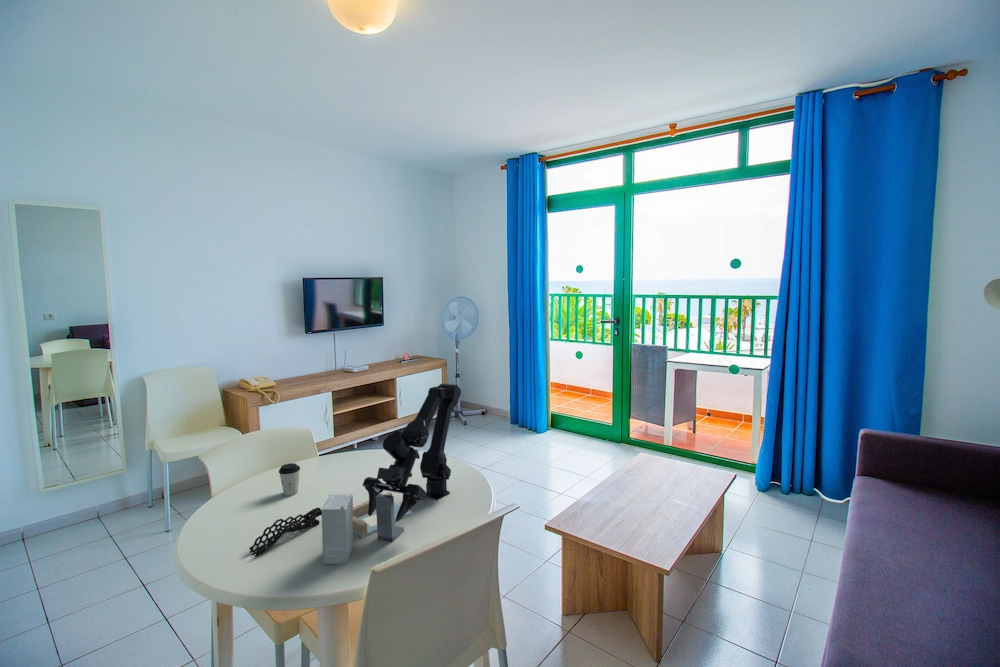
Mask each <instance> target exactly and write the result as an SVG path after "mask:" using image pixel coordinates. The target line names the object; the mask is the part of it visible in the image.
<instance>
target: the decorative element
mask: <svg viewBox="0 0 1000 667" xmlns="http://www.w3.org/2000/svg"><path fill="white" fill-rule="evenodd" d="M321 509H322V508H321V507H318V506H317V507H316V508H312V509H311V510H309V511H308V512H306V513H305V514H304V515H303V514H300V513H299V514H297V516H295V517H293V516H289V517H287V518H285V519H283V518H279V519H278V518H277V519H276V520H275V521H274V522H273V524H272V525H270V526H267V527H265V529H264V530H263V532H262V534H261V535H260V536H258V537H256V539H255V540H254V543H253V545H251V546H249V549H248V550H249V553H250V554H251V555H252V556H254V554H256V555H255V556H254V557H258V556H261V555H262V554H264V553H265V552H267V551H268V550H270V548H271V547H273V546H274V545H275V544H276V543H277V542H278V541H279V540H280V539H281V537H282V536H283V535H285V534H286V533H293V532H297V531H302V530H305V529H309V528H312V527H317V526H319V525H320V520H319V519H317V518H318V517H320V516H322V510H321ZM283 523H284V525H282V524H283ZM273 528H274V529H273ZM272 529H273V530H272ZM267 531H268V532H267ZM266 532H267V533H266ZM270 534H272V535H271V536H270V537H269V535H270ZM264 537H265V539H264ZM263 539H264V540H263ZM266 542H267V543H266ZM255 547H256V548H255ZM254 548H255V549H254ZM260 554H261V555H260Z"/></svg>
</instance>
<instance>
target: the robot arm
mask: <svg viewBox="0 0 1000 667" xmlns="http://www.w3.org/2000/svg"><path fill="white" fill-rule="evenodd" d="M461 394H462V390H461V388H460V387H459V385H458V384H454V383H453V384H452V383H440V384H439V385H438V386H437V385H436V386H432V387H430V388H429V389H428V392H427V395H426V397H425V399H424V401H423V402H422V405H421V407H420V409H419V411H418V413H417V414H416V417H415V418H414V420H412V421H410V422H409V423H408V424H407V425H406V426H405V428H404V429H403V431H401V430H394V431H393V433H392V434H388V436H386V437H385V439H383V442H382V448H383V449H384V451H385V452H386V453H387V454H388V455H389V456H390V457H392V459H394V462H393V464H390V465H389V467H388V468H386V467H385V468H384V467H378V471H377V476H376V477H372V476H371V477H370V476H368V477H365V479H364V480H363V483H362V486H363V488H365V489H364V490H366V491H367V494H368V501H369V509H368V515H369V516H371V515H372V514H373V512H374V510H375V508H376V495H378V494H382V493H383V492H384V491H386V492H390V493H399V494H402V501H401V504H400V508H399V511H398V514H397V517H396V522H399V521H400V520H402V519H403V518H402V517H403V516H404V515H405V514H406V513H407V512H408V510H411V508H413V507H414V506H415V505H416V504H420V502H425V499H426V496H427V497H429V498H432V499H433V500H439V499H441V498H444V497H445V496H447V495H449V494H451V492H450V491H449V490H448V489H447V486H448V485H447V480H450V477H451V474H452V469H451V468H450V467H449V466H448V465H447V462H448V460H447V456H446V453H445V446H446V440H447V436H448V432H449V427H450V421H451V417H452V410H453V409H454V408H455V407H456V406H457V404H459V400H460V397H461ZM435 414H436V418H435V421H434V427H433V432H432V436H431V440H430V446H429V448H428V450H427V451H424V452H423V453H422V458H421V460H420V465H419V469H420V470H419V471H420V473H421V476H422V479H426V484H425V486H426V487H425V489H426V490H424V488H423V487H422V486H420V485H419V484H413V483H408V482H409V481H408V480H409V478H412V477H413V473H412V470H413V467H414V465H415V462H416V460H419V459H420V457H421V456H420V453H419V450H418V449H414V448H424V446H425V445H426V443H427V442H428V439H429V435H430V431H429V428H430V424H431V422H432V421H433V418H434V416H435ZM413 447H414V448H413ZM381 480H382V481H383V482H382V481H381ZM407 483H408V484H407ZM448 493H449V494H448ZM446 494H447V495H446ZM444 495H445V496H444ZM401 518H402V519H401Z"/></svg>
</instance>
